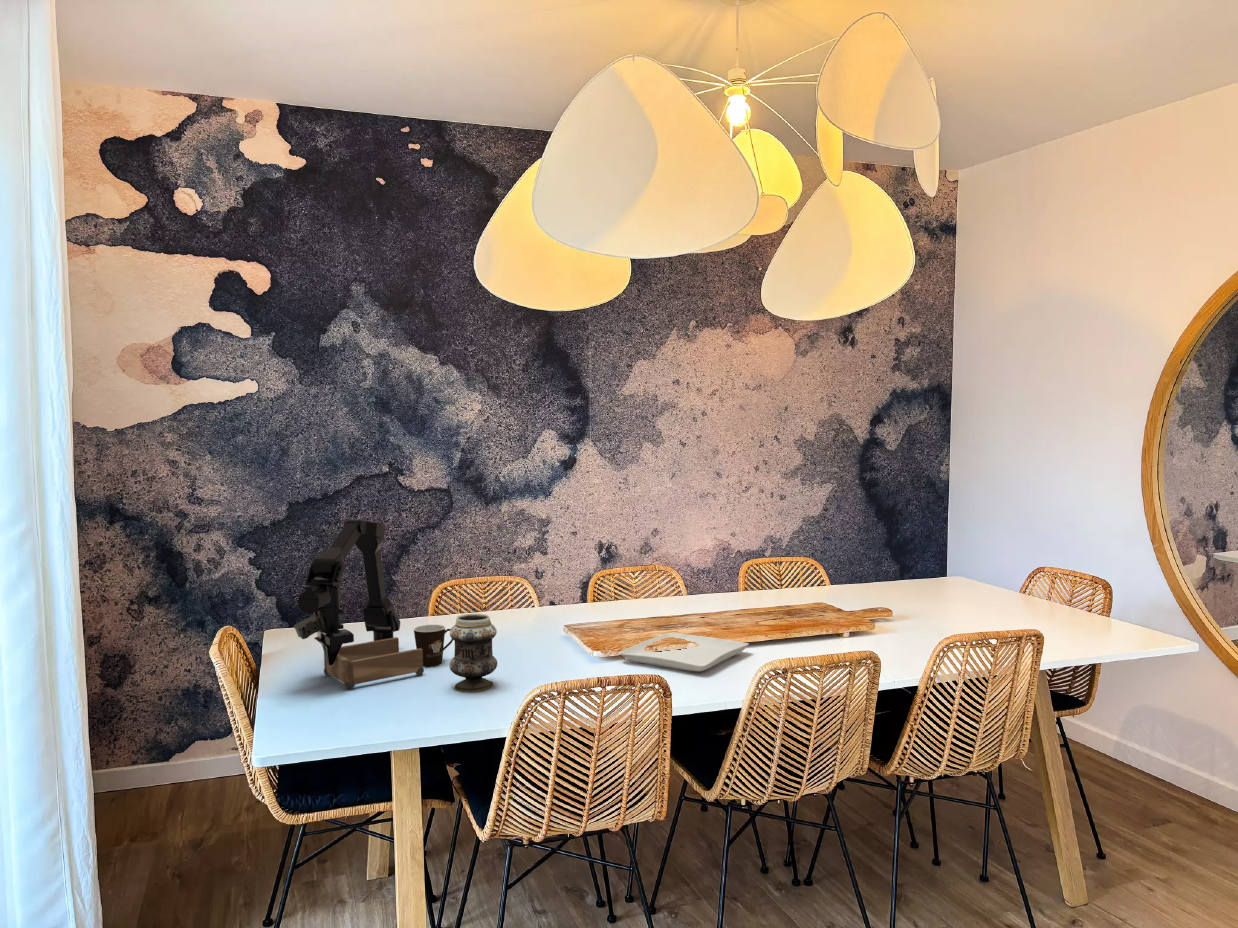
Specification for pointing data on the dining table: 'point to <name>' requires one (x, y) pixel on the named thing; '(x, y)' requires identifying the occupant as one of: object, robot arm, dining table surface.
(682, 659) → the square plate
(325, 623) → the robot arm
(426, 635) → the coffee mug
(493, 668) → the apothecary jar
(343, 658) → the caster frame
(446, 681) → the dining table surface
